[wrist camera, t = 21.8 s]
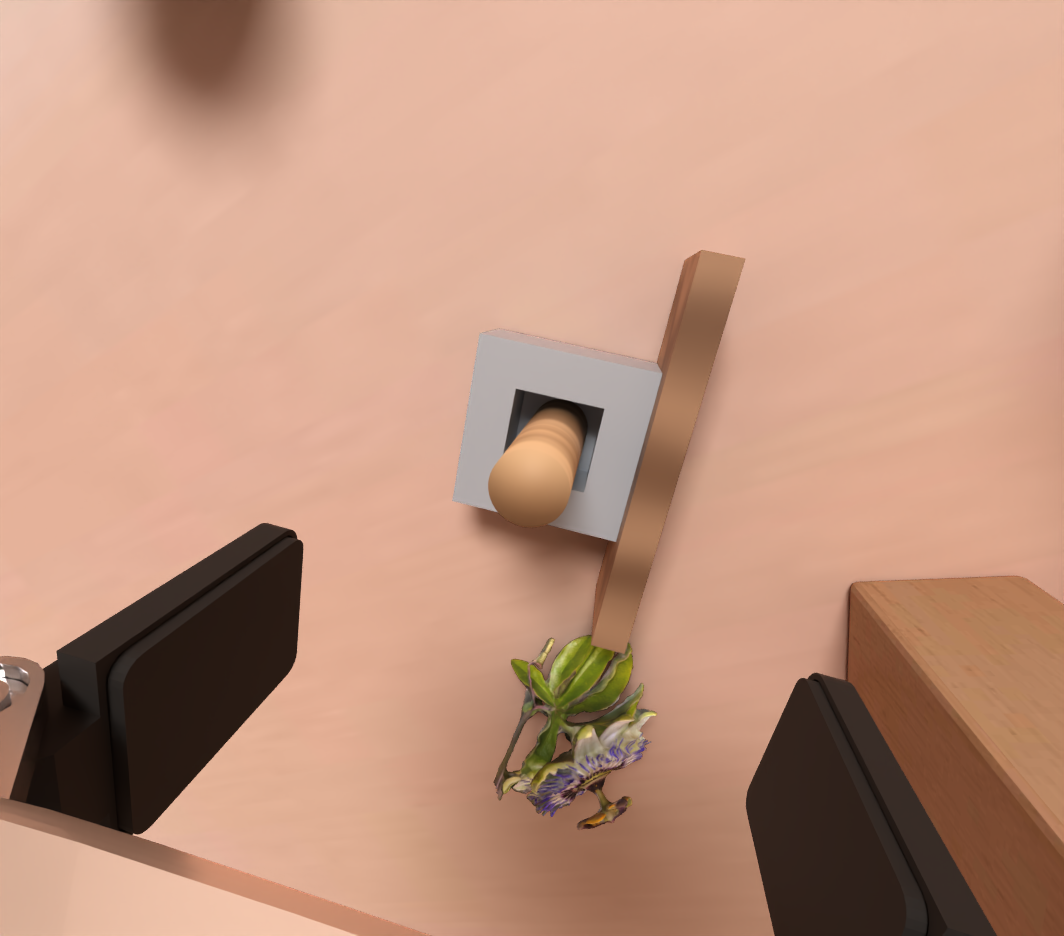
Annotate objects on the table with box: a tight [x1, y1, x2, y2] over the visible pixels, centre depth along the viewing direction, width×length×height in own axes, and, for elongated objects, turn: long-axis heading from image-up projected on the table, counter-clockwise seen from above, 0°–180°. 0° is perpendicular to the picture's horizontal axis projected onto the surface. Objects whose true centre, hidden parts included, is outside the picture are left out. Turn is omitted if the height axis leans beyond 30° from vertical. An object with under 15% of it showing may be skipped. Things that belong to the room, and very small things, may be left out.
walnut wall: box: [591, 250, 745, 654], centre depth 31 cm, size 22×2×7 cm, turn 168°
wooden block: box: [848, 576, 1064, 936], centre depth 26 cm, size 10×10×20 cm
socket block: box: [452, 329, 663, 542], centre depth 33 cm, size 10×10×5 cm
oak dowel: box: [488, 399, 588, 528], centre depth 28 cm, size 4×4×12 cm
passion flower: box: [494, 635, 657, 830], centre depth 38 cm, size 11×11×12 cm
